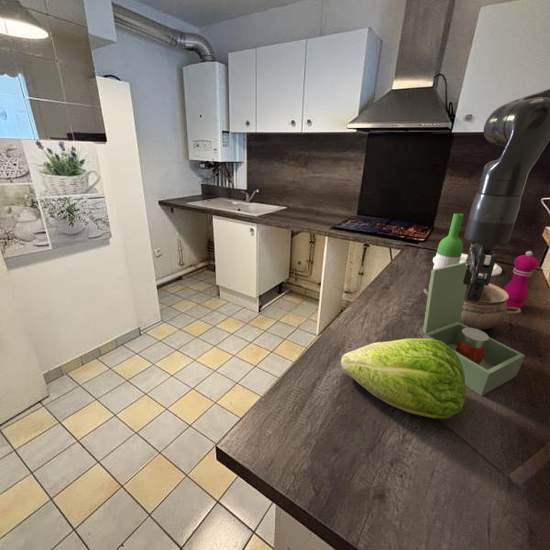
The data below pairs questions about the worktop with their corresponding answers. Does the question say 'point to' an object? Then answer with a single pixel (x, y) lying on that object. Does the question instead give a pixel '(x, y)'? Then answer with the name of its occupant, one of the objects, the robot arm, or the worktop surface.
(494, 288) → the cooking pot
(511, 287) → the pepper mill
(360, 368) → the lettuce
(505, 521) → the worktop surface
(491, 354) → the bin
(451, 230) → the wine bottle
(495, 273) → the ceiling medallion
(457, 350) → the jar
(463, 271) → the bin lid
